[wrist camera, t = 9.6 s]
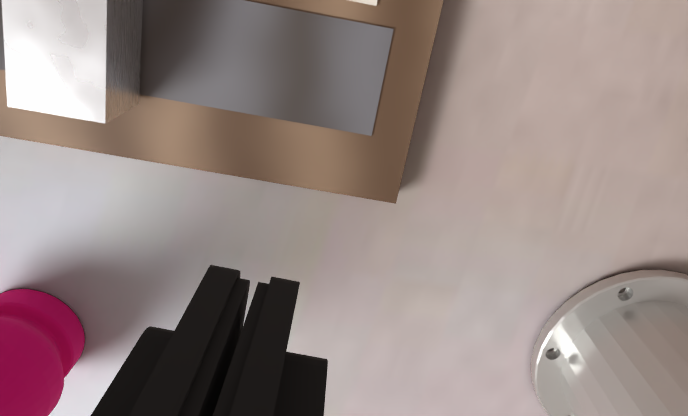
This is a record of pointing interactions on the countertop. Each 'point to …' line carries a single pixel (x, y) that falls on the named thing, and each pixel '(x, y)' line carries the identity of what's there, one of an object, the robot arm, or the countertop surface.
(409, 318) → the countertop surface
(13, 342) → the pepper mill
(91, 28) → the gauge slider
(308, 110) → the base
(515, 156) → the countertop surface
